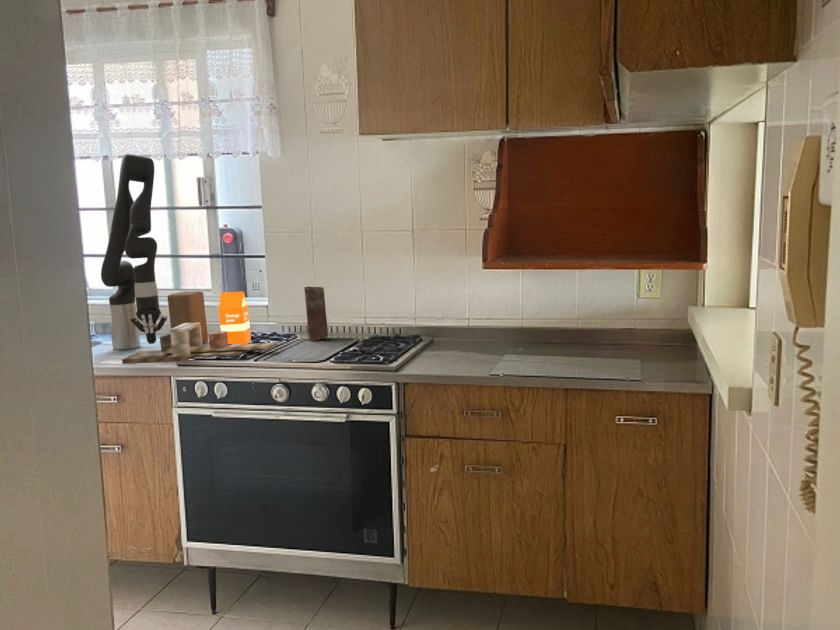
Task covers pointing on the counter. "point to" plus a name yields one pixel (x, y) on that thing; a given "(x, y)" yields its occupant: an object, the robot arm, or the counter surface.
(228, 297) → the orange juice
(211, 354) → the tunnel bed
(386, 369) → the counter surface
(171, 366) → the counter surface
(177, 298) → the wooden block
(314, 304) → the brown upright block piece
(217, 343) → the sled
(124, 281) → the robot arm
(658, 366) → the counter surface
